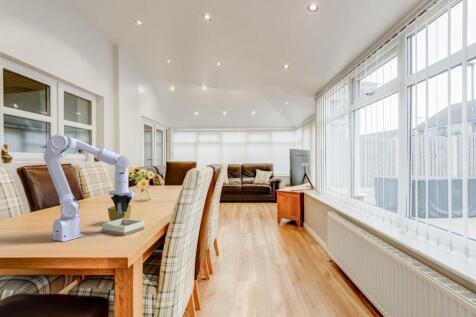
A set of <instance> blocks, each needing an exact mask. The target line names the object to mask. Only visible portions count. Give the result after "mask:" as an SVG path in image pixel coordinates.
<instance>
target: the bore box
mask: <svg viewBox="0 0 476 317" xmlns="http://www.w3.org/2000/svg"><path fill="white" fill-rule="evenodd" d="M144 230H145V220H138V219H134V218H133V219H131V218H129V219H125V218H122V219H118V220H114V221H110V220H109V221H107V222H103V223H101V233H103V234H108V235H109V234H111V235H115V236H121V237H126V236H129V235H132V234H135V233H138V232H140V231H141V232H142V231H144Z"/></svg>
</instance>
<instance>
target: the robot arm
mask: <svg viewBox="0 0 476 317" xmlns="http://www.w3.org/2000/svg"><path fill="white" fill-rule="evenodd" d="M68 149H79V150H82V151H83V152H87V153H89V154H92V155H94V156H96V158H97V160H98V161H101V162H103V163H105V164H107V165H111V166H115V173H114V190H108V196H110V199H111V200H112V202H113V206H114V205H115V208H116V211H118V209H117V203H118V202H121V205H122V212H127V209H128V205H130V202H131V200H132V199H133V198H134V197H135V196H136V193H135V192H134V191H130V190H129V165H130V161H129V159H128V158H127V157H126V156H123V155H121V154H120V153H116V152H114V151H111V149H110V148H109V147H108V148H105V147H103V148H101V149H99V148H97V147H96V146H93V145H91V144H89V143H86V142H84V141H82V140H80V139H78V138H74V137H71V136H65V135H64V134H61V133H58V134H57V133H56V134H53V135H52V136H51V138H49V140H47V144H46V147H45V151H44V154H43V159H44V162H45V165H46V168H47V170H48V173H49V175H50V177H51V180H52V183H53V185H54V188H55V191H56V193H57V195H58V198H59V199H58V200H59V204H60V209H59V211H60V212H59V213H60V214H61V215H60V217H59V218H57V219H56V220H54V221H53V224H52V237H51V240H54V241H57V242H62V243H63V242H68V241H70V240H75V239H79V238H81V237H85V236H86V235H85V234H83V233H81V213H79V211H80V208H81V204H80V202H79V201H78V200H77V199H76V198H75V196H74V194H73V192H72V189H71V187H70V184H69V182H68V179H67V177H66V174H65V171H64V169H63V166H62V165H61V161H60V158H61V156H62V154H63V153H64V152H65V151H67V150H68Z"/></svg>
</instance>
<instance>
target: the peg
mask: <svg viewBox="0 0 476 317" xmlns="http://www.w3.org/2000/svg"><path fill="white" fill-rule="evenodd" d="M117 209H118V216H124V215H125V212H122V205H121V202H118V203H117Z"/></svg>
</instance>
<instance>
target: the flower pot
mask: <svg viewBox="0 0 476 317" xmlns="http://www.w3.org/2000/svg"><path fill="white" fill-rule="evenodd" d="M131 212H132V204H129V205H128V209H127V212H125V215H124V216H118V211H116V208H115V205H114V204H113V205H112V206H110V207H107V214H108V219H109V222H110V221H114V220H118V219H122V218H125V219H130V216H131Z"/></svg>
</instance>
